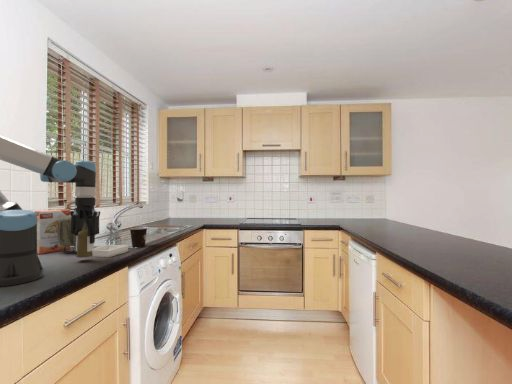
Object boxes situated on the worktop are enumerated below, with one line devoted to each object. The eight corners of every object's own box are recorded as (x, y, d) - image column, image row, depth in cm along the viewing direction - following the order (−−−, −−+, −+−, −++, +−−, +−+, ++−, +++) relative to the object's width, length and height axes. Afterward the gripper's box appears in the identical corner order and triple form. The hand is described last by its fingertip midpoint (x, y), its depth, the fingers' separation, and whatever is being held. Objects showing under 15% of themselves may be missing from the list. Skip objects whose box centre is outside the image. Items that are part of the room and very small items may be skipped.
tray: (108, 257, 127) (108, 250, 127) (86, 256, 129) (86, 249, 129) (128, 251, 139) (128, 245, 139) (107, 250, 142) (107, 244, 142)
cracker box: (39, 254, 133) (39, 211, 133) (33, 253, 136) (33, 210, 136) (71, 249, 145) (70, 209, 145) (65, 248, 148) (64, 209, 148)
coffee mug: (139, 244, 157) (139, 227, 157) (150, 245, 153) (150, 227, 153) (121, 248, 147) (121, 229, 147) (133, 249, 143) (132, 230, 143)
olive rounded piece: (84, 257, 116) (85, 231, 117) (72, 257, 118) (73, 231, 118) (95, 254, 122) (96, 229, 123) (84, 254, 124) (84, 229, 124)
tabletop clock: (93, 248, 146) (92, 201, 146) (92, 252, 138) (92, 201, 138) (59, 251, 139) (59, 202, 139) (56, 255, 131) (56, 202, 131)
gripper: (109, 197, 122) (108, 250, 122) (75, 196, 126) (74, 248, 126) (96, 197, 115) (95, 253, 114) (60, 196, 119) (59, 251, 119)
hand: (84, 250), depth 120 cm, fingers closed on olive rounded piece, 5 cm apart
